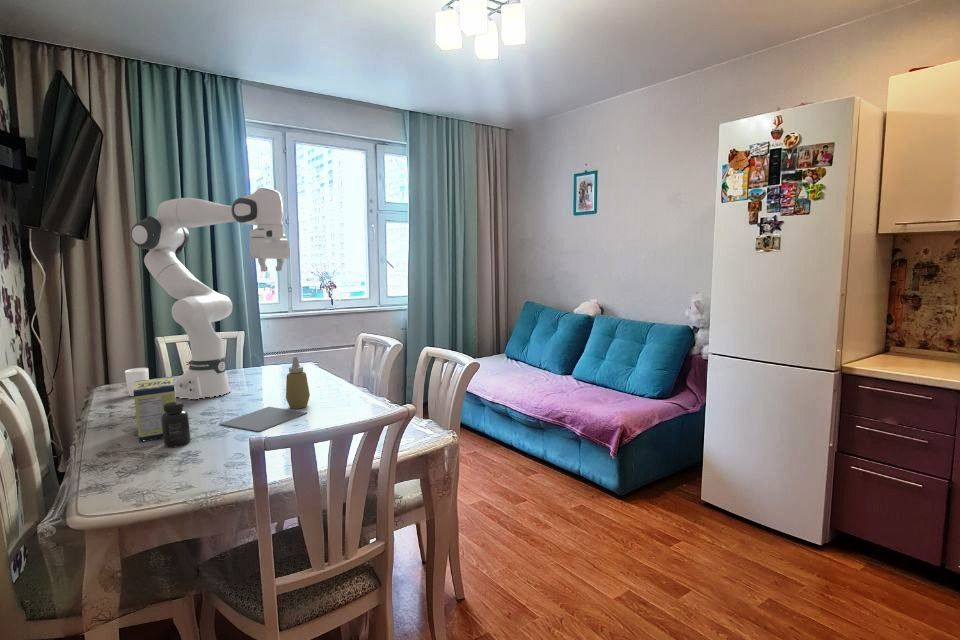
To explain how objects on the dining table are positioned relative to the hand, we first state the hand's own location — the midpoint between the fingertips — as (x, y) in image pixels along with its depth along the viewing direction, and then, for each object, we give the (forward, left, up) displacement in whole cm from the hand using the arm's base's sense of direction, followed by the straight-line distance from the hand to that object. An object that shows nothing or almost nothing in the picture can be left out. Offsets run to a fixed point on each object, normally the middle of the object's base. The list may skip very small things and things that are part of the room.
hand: (271, 271), depth 194 cm
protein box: (-15, -42, -48) cm, 65 cm away
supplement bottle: (-1, -50, -48) cm, 69 cm away
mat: (+10, -25, -48) cm, 55 cm away
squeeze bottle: (+14, -11, -48) cm, 51 cm away
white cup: (-60, -5, -48) cm, 77 cm away
